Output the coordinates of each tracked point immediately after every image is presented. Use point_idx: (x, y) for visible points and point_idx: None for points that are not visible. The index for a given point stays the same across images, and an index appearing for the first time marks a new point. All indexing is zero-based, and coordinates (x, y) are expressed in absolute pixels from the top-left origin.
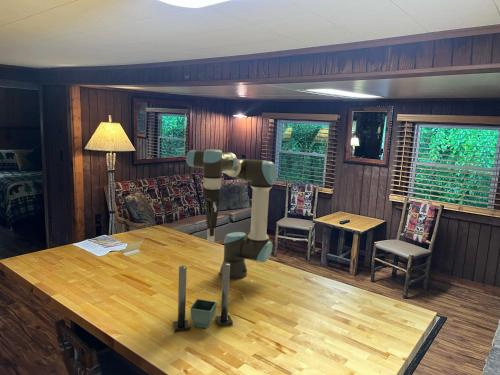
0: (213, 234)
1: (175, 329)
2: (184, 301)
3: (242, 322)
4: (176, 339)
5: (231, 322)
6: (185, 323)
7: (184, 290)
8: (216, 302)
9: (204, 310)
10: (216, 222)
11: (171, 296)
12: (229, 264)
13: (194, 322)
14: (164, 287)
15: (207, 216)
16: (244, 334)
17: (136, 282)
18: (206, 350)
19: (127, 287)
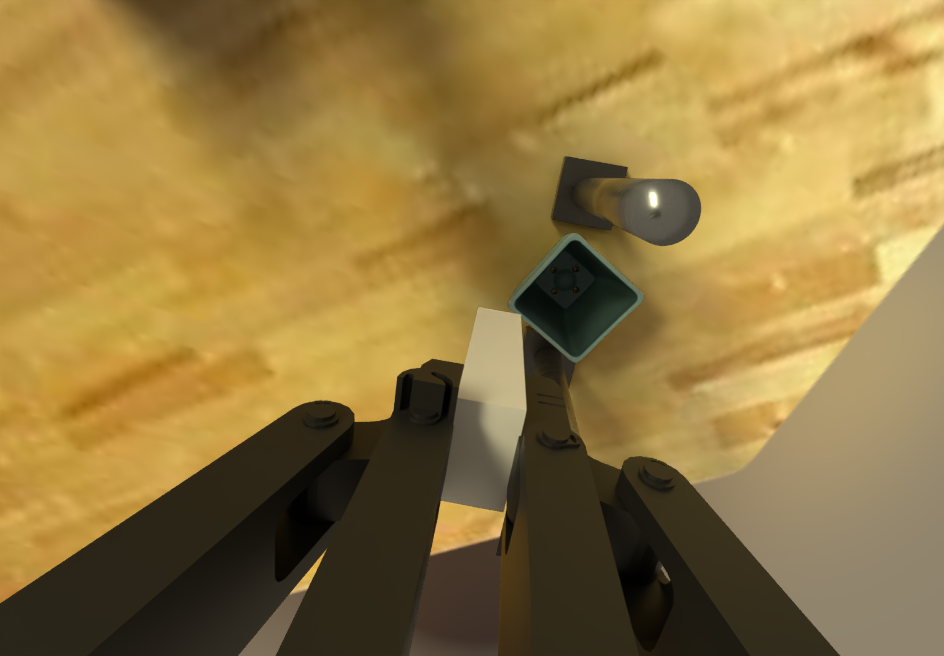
0: (560, 396)
1: (568, 387)
2: (571, 401)
3: (626, 114)
4: (610, 393)
5: (625, 173)
6: (548, 346)
7: (578, 431)
8: (578, 234)
9: (623, 317)
10: (780, 595)
11: (300, 308)
12: (690, 192)
13: (574, 324)
14: (211, 307)
15: (236, 639)
16: (714, 153)
17: (147, 390)
18: (725, 333)
19: (187, 428)
